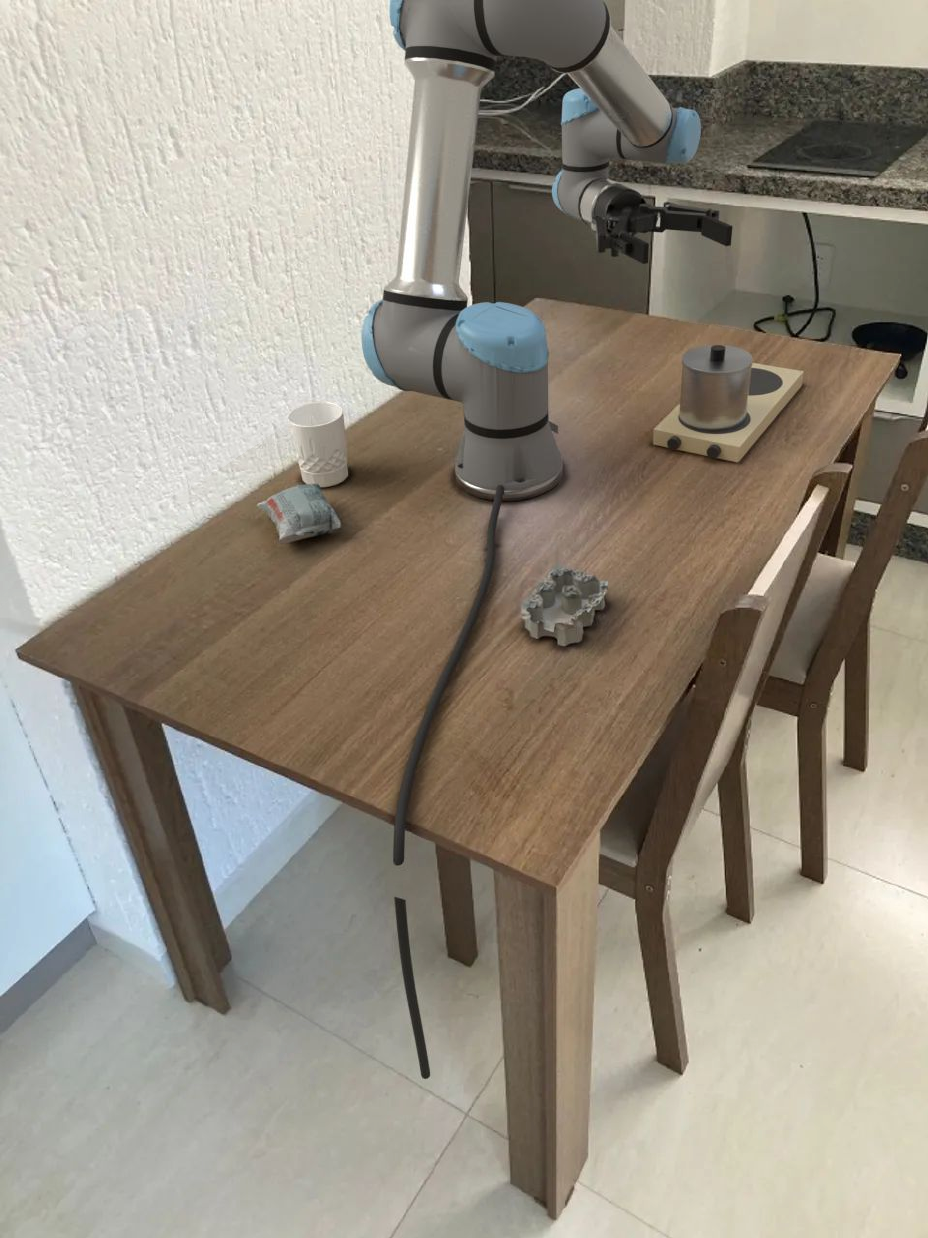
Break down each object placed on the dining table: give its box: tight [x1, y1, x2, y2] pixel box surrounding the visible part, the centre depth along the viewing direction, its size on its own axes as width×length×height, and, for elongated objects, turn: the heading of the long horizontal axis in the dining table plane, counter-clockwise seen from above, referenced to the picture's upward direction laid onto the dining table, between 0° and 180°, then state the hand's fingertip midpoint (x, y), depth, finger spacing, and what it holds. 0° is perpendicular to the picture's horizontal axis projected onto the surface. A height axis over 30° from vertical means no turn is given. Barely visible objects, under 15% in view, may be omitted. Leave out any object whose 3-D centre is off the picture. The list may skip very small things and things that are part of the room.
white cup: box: [286, 401, 349, 488], centre depth 145 cm, size 8×8×10 cm
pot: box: [679, 344, 754, 431], centre depth 146 cm, size 10×10×11 cm
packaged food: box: [256, 483, 342, 545], centre depth 136 cm, size 9×12×5 cm
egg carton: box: [520, 562, 610, 647], centre depth 116 cm, size 11×8×4 cm
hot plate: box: [652, 362, 805, 464], centre depth 154 cm, size 29×13×2 cm, turn 147°
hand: (688, 244), depth 143 cm, fingers open, 13 cm apart
